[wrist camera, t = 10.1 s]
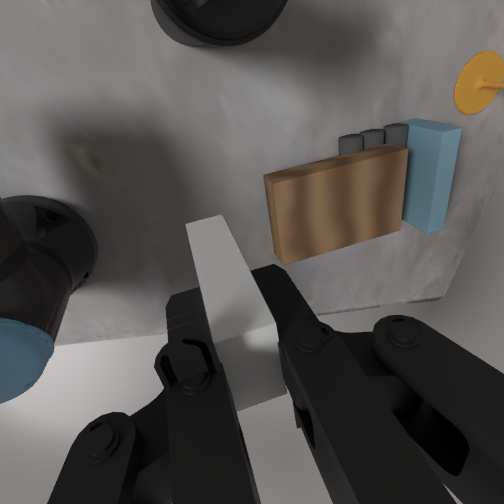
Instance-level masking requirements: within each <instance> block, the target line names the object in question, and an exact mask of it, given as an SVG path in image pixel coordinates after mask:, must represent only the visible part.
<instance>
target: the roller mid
mask: <svg viewBox="0 0 504 504" xmlns="http://www.w3.org/2000/svg"><path fill="white" fill-rule="evenodd" d="M360 135H363V150H365V149H369V148H373V147H377V146H380V145H384V130H382V129H370V130H366V131H362V132H360Z"/></svg>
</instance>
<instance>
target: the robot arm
mask: <svg viewBox="0 0 504 504" xmlns="http://www.w3.org/2000/svg"><path fill="white" fill-rule="evenodd" d="M185 225H186V229H187V234H188V238H189V242H190V246H191V251H192V255H193V259H194V263H195V267H196V272H197V276H198V280H199V284H200V287H198V288H195V289H191V290H188V291H185V292H181V293H178V294H175V295H171V297H170V299H169V301H168V304H167V306H166V319H167V330H168V343H167V344H166V345H165V346H163V347H162V349H161V350H160V352H159V353H158V355H157V356H156V359H155V365H154V368H155V370H156V372H157V374H158V376H159V378H160V380H161V382H162V384H163V386H164V389H163V391H162V392H161V393H160V394H159V395H158V396H157V397H156V398H155V399H154V400H153V401H152V402H150V403H149V404H148V405H146V406H145V407H143V408H142V409H140V410H139V411H137V412H136V413H134V414H133V415H131V416H128V415H126V414H125V413H123V412H111V413H108V414H105V415H101V416H100V417H98V418H97V419H95V420H94V421H92V422H90V423H89V424H88V425H87V426H86V427H85V428H84V429H83V430H82V431H81V432H80V433H79V434H78V436H77V438H76V439H75V441H74V443H73V444H72V446H71V448H70V450H69V453H68V455H67V458H66V460H65V462H64V465H63V467H62V470H61V472H60V474H59V477H58V479H57V481H56V484H55V486H54V489H53V491H52V493H51V496H50V498H49V501H48V503H47V504H261V502H260V498H259V494H258V490H257V486H256V483H255V479H254V475H253V471H252V467H251V463H250V459H249V456H248V452H247V448H246V444H245V441H244V437H243V433H242V430H241V426H240V423H239V420H238V416H237V411H240V410H243V409H245V408H248V407H251V406H254V405H256V404H259V403H262V402H265V401H267V400H270V399H273V398H276V397H278V396H281V395H284V394H287V388H288V390H289V392H290V395H291V397H292V400H293V406H294V414H295V420H296V425H297V428H300V427H301V428H302V431H303V433H304V436H305V438H306V440H307V443H308V445H309V448H310V450H311V452H312V455H313V457H314V460H315V462H316V464H317V466H318V469H319V471H320V474H321V476H322V478H323V481H324V483H325V486H326V488H327V490H328V493H329V495H330V498H331V500H332V502H333V504H457V503H456V502H455V500H454V499H453V498H452V496H451V495H450V493H449V492H448V490H447V489H446V488H445V486H446V487H447V488H449V490H450V491H451V492H452V493H453V494H454V495H455V496H456V497H457V498H458V499H459V500H460V501H461V502H462V503H463V504H504V374H503V373H501V372H500V371H498V370H497V369H495V368H494V367H492V366H491V365H489V364H487V363H486V362H484V361H483V360H481V359H479V358H478V357H476V356H475V355H473V354H472V353H470V352H469V351H467V350H465V349H464V348H462V347H461V346H459V345H458V344H456V343H455V342H453V341H451V340H450V339H448V338H447V337H445V336H444V335H442V334H440V333H439V332H437V331H436V330H434V329H433V328H431V327H429V326H428V325H426V324H425V323H423V322H421V321H419V320H417V319H415V318H413V317H409V316H404V315H391V316H387V317H384V318H382V319H380V320H379V321H378V322H377V323H376V324H375V325H374V329H373V332H358V333H357V332H356V333H345V332H339V331H335V330H333V329H332V328H331V327H330V326H329V325H327V324H324V323H322V322H320V321H319V320H318V319H317V317H316V316H315V314H314V313H313V311H312V310H311V308H310V307H309V305H308V304H307V302H306V301H305V299H304V298H303V296H302V295H301V293H300V292H299V290H297V287H296V286H295V284H294V283H293V282H292V280H291V278H290V277H289V275H288V274H287V272H286V271H285V270H284V269H282V268H280V267H278V266H277V265H275V264H272V265H269V266H265V267H262V268H258V269H255V270H252V271H250V270H249V268H248V266H247V264H246V262H245V260H244V258H243V256H242V254H241V252H240V250H239V248H238V246H237V244H236V242H235V240H234V238H233V236H232V234H231V232H230V230H229V228H228V226H227V224H226V222H225V220H224V218H223V216H222V214H221V215H217V216H213V217H210V218H206V219H202V220H198V221H195V222H191V223H187V224H185ZM96 257H97V244H96V240H95V237H94V234H93V232H92V230H91V229H90V227H89V226H88V224H87V223H86V222H85V221H84V220H83V219H82V218H81V217H80V216H79V215H78V214H77V213H76V212H74V211H73V210H71V209H70V208H68V207H66V206H65V205H63V204H61V203H58V202H56V201H53V200H50V199H47V198H42V197H37V196H13V197H7V198H4V199H1V197H0V404H1V403H4V402H6V401H9V400H11V399H13V398H15V397H17V396H19V395H21V394H22V393H24V392H26V391H27V390H28V389H29V388H30V387H32V386H33V385H34V384H35V382H36V381H37V380H38V379H39V378H40V376H41V375H42V373H43V371H44V369H45V366H46V364H47V362H48V360H49V358H51V356H52V354H53V352H54V347H55V346H54V343H55V340H56V337H57V334H58V331H59V328H60V325H61V322H62V319H63V316H64V313H65V310H66V307H67V304H68V301H69V297H70V296H71V295H72V294H73V293H74V292H75V291H76V290H77V289H78V288H79V287H81V286H82V285H83V284H84V283H85V282H86V280H87V279H88V278H89V276H90V275H91V273H92V271H93V268H94V265H95V261H96ZM286 386H287V388H286ZM443 484H444V485H445V486H444V485H443Z"/></svg>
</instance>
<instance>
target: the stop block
mask: <svg viewBox="0 0 504 504" xmlns="http://www.w3.org/2000/svg"><path fill="white" fill-rule="evenodd" d="M400 123H404V124H408V125H409V126H408V136H407V146H406V148H407V149H408V158H407V168H406V178H405V188H404V198H403V208H402V217H401V219H403V220H404V221H406V222H408V223H409V224H411V225H413V226H414V227H416V228H418V229H419V230H421V231H423V232H424V233H426V234H430V233H433V232H436V231H440V230H443V228H444V223H445V217H446V212H447V207H448V201H449V196H450V190H451V185H452V179H453V174H454V168H455V163H456V157H457V152H458V147H459V141H460V136H461V130H462V127H457V126H452V125H447V124H442V123H437V122H432V121H427V120H422V119H417V118H416V119H412V120H408V121H403V122H400Z"/></svg>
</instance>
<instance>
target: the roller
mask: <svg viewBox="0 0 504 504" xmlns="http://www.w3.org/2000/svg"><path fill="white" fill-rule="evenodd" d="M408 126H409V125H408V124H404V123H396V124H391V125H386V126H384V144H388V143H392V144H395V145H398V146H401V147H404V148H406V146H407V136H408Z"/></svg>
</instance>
